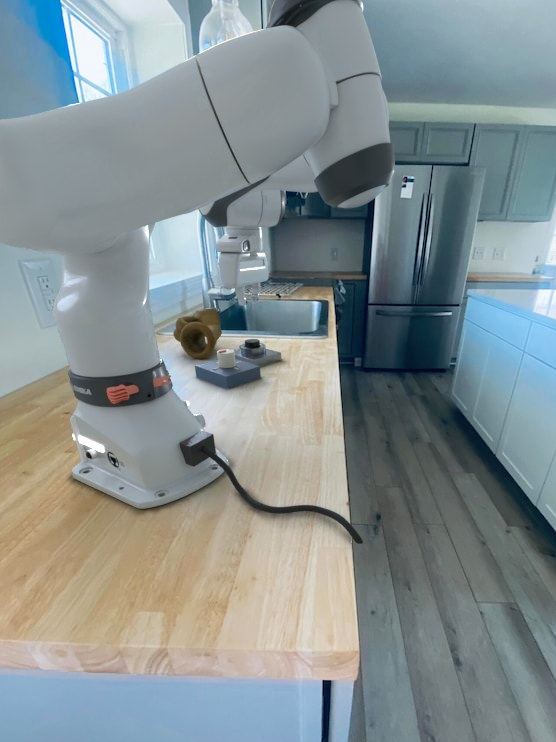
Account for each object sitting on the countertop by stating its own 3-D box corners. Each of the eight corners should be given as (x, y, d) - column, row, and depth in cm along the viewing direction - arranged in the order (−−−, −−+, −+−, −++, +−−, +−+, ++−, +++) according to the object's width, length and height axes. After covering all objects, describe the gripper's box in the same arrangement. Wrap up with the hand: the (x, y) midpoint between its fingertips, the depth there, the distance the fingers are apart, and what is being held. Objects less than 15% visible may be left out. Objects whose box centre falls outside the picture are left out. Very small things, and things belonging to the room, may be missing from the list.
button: (263, 346, 101) (262, 340, 100) (251, 349, 98) (251, 343, 97) (253, 344, 103) (252, 338, 102) (242, 347, 100) (241, 340, 99)
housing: (281, 360, 102) (281, 346, 100) (254, 368, 95) (253, 353, 93) (253, 352, 109) (252, 338, 107) (225, 359, 102) (224, 345, 100)
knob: (228, 362, 90) (227, 346, 88) (239, 365, 87) (237, 349, 86) (215, 365, 87) (213, 350, 85) (226, 369, 85) (224, 353, 83)
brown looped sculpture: (246, 318, 117) (219, 319, 96) (236, 356, 121) (208, 365, 101) (193, 297, 117) (154, 293, 96) (184, 336, 121) (145, 340, 101)
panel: (260, 378, 89) (260, 365, 87) (227, 389, 82) (225, 375, 80) (229, 368, 95) (228, 356, 94) (196, 377, 88) (194, 364, 87)
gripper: (251, 243, 98) (254, 297, 105) (211, 243, 81) (219, 308, 87) (272, 243, 97) (275, 298, 103) (237, 243, 79) (243, 310, 86)
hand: (249, 303), depth 95 cm, fingers open, 6 cm apart
